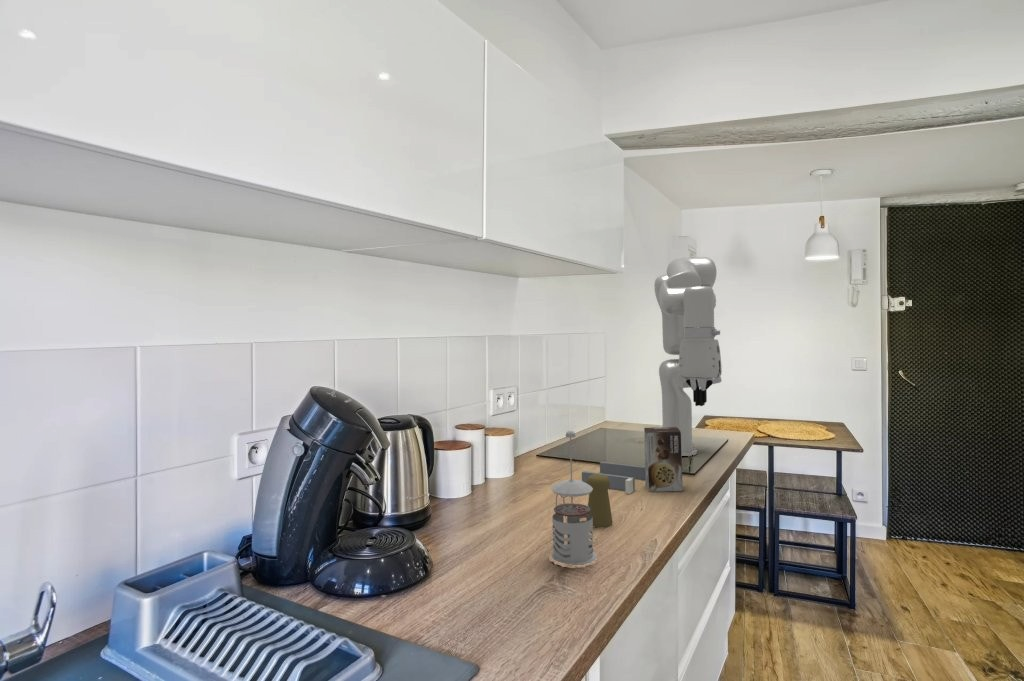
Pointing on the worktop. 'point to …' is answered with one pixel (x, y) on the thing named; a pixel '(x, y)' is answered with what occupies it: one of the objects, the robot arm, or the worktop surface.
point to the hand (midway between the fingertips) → (700, 405)
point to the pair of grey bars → (619, 475)
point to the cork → (599, 500)
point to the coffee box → (663, 459)
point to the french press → (572, 522)
